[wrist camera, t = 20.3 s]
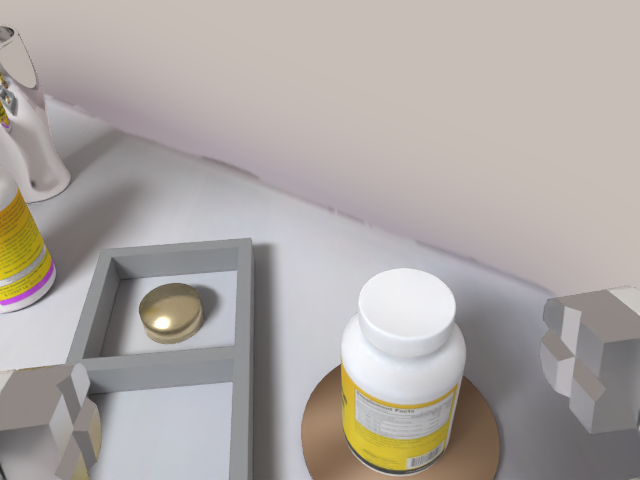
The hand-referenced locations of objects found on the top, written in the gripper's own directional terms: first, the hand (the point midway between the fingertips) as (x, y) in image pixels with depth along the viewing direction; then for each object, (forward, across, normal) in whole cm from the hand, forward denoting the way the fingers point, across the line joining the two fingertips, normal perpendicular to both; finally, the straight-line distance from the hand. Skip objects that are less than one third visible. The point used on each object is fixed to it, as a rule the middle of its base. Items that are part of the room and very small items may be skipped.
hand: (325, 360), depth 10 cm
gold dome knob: (+30, +8, +16) cm, 35 cm away
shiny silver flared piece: (+50, +22, +10) cm, 56 cm away
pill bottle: (+18, -6, +19) cm, 27 cm away
